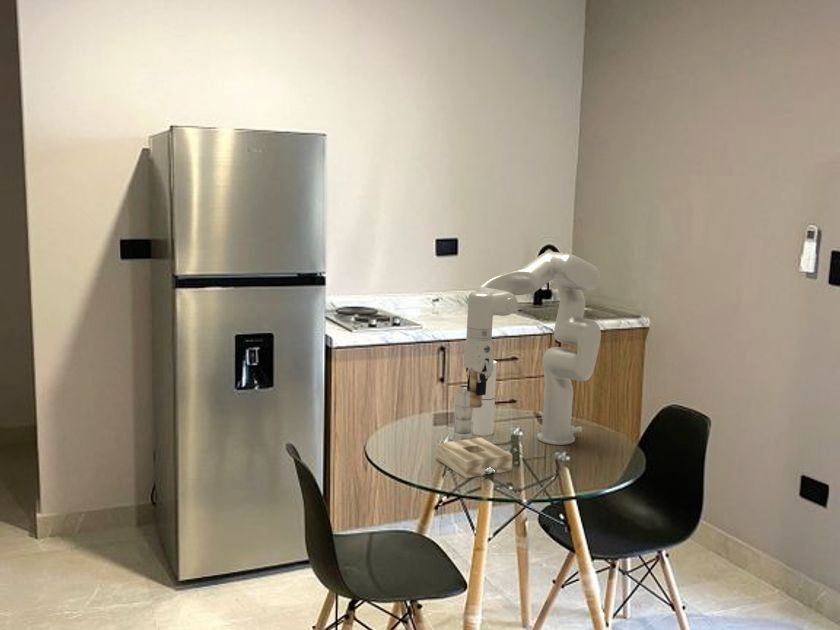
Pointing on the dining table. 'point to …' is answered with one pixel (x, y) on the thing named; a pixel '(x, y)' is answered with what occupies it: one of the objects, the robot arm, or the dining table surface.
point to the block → (473, 457)
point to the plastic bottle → (463, 415)
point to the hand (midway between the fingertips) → (476, 392)
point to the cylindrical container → (486, 408)
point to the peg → (474, 390)
